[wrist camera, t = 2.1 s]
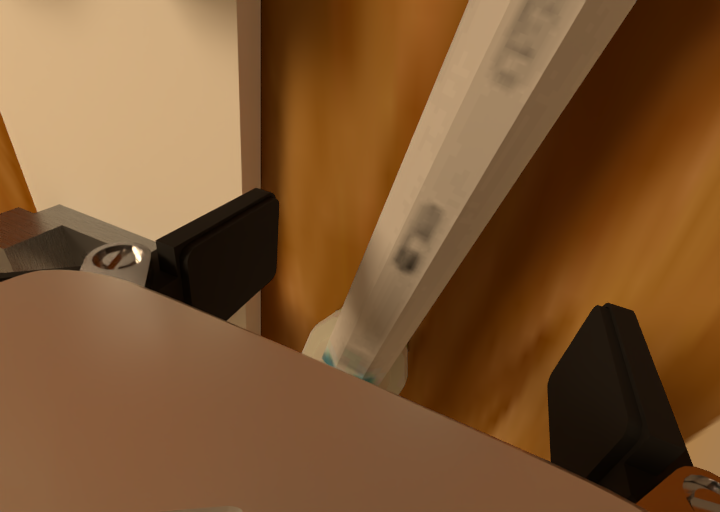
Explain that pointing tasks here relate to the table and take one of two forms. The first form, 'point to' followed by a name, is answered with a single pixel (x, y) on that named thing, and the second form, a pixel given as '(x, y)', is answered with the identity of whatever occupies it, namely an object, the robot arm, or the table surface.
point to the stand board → (135, 109)
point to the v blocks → (55, 238)
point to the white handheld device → (462, 168)
